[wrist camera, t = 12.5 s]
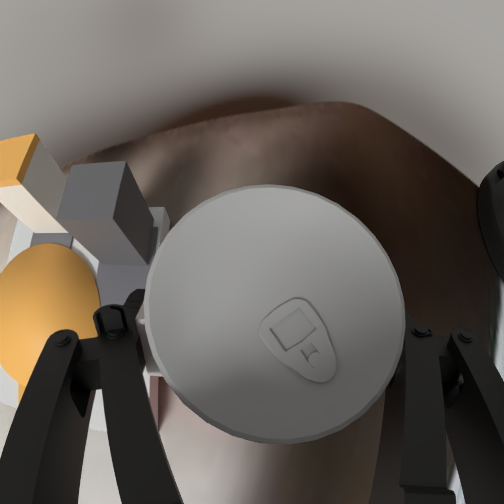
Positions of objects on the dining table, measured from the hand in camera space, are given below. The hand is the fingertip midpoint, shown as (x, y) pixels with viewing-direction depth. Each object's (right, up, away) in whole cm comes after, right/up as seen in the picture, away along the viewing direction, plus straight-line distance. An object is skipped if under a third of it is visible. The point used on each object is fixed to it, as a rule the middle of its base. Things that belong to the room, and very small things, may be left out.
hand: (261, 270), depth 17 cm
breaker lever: (-14, +4, +2) cm, 15 cm away
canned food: (0, -5, +2) cm, 5 cm away
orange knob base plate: (-12, -3, +2) cm, 13 cm away
